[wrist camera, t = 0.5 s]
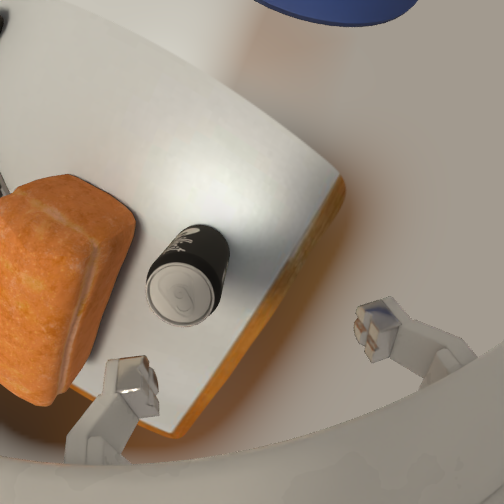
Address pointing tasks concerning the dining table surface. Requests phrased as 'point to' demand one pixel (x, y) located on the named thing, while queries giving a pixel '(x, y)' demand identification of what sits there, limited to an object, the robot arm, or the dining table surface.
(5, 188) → the coffee machine
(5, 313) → the bread
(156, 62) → the dining table surface
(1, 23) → the mug
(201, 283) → the beverage can
